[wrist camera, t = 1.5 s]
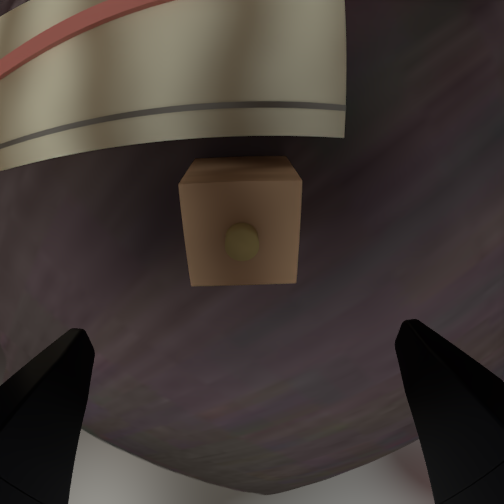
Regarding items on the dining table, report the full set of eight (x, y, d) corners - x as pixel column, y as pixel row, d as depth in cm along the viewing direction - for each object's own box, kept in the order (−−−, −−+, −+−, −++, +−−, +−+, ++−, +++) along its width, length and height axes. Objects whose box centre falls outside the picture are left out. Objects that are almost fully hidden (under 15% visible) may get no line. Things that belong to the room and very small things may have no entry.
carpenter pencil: (233, -28, 9) (233, -34, 9) (236, -12, 10) (236, -17, 9) (-4, 67, 10) (-12, 68, 9) (-3, 82, 10) (-10, 82, 10)
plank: (328, -29, 11) (341, -44, 9) (330, 131, 16) (344, 138, 13) (-9, 37, 10) (-32, 36, 8) (0, 166, 15) (-22, 177, 13)
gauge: (285, 155, 16) (306, 186, 11) (283, 236, 19) (298, 293, 14) (195, 158, 16) (174, 190, 11) (201, 238, 19) (188, 296, 14)
